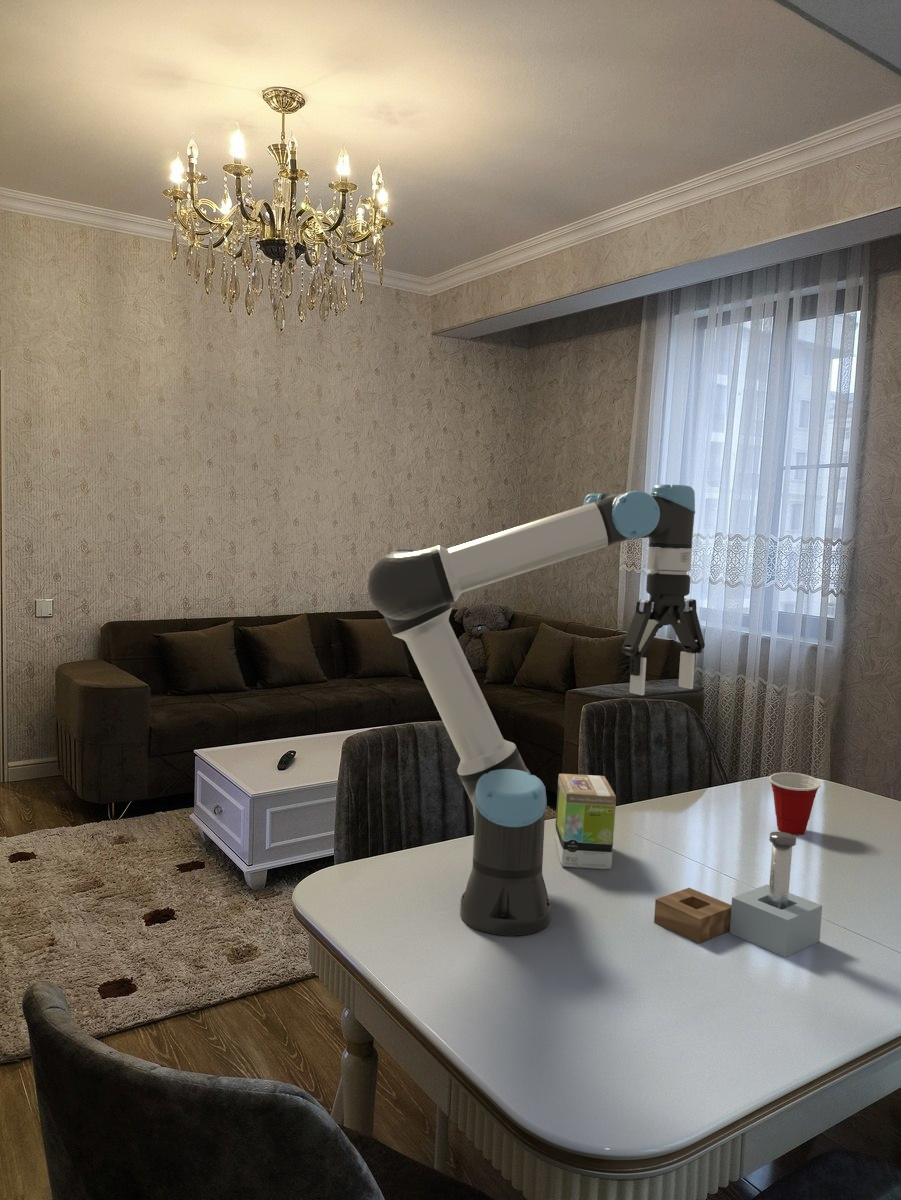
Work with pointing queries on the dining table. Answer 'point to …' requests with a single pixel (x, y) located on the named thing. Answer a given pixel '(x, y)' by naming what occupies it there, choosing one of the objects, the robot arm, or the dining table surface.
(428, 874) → the dining table surface
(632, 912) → the dining table surface
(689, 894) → the mount block
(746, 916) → the socket block
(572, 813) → the tea box
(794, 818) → the plastic cup
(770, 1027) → the dining table surface
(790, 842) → the lock pin
